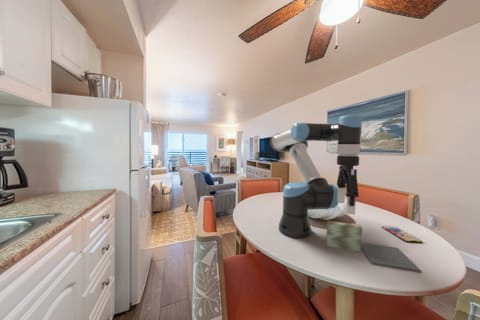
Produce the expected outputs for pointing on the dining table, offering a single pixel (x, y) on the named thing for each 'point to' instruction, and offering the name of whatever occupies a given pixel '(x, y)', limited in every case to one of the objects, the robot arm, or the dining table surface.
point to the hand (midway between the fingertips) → (345, 207)
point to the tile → (344, 235)
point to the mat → (388, 257)
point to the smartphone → (402, 235)
